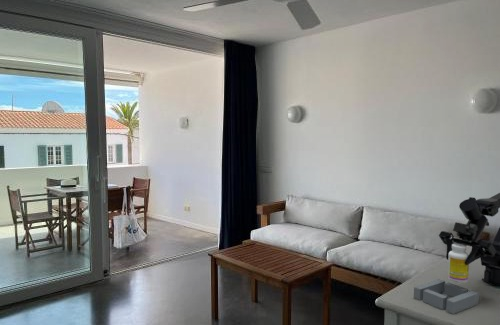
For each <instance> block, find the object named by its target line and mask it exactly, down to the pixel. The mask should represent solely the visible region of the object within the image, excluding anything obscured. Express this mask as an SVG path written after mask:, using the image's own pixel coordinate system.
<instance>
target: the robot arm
mask: <svg viewBox="0 0 500 325" xmlns="http://www.w3.org/2000/svg"><path fill="white" fill-rule="evenodd" d="M458 208H459V209H460V211H461V212H462V214H463V216H464V217H465V218H466V220H468V221H467V222H466V223H461V222H454V226H453V229H452V231H453V232H456V235H457V237H455V235H454V234H453V233H452V232H450V231H445V230H442V231H440V232H439V235H438V237H439V239H440V240H441V241H442V243H443V244H444V245H445V246H446V256H445V257H446V258H445V259H446V260H447V261H448V254H449V252H450V251H452V244H462V245H465V246H466V247H471V250H470V252H469V254H468V255H469V256H468V257H467V259H466V261H465V265H468V264H469V265H470V264H471V263H473V262H475V261H476V260H478V259H480V264H481V266H483V267H484V272H483V273H484V274H483V278H481V280H482V281H483V282H485V283H487V284H488V285H490V286H493V287H494V286H500V226H499V227H498V230H497V232H496V233H495V236H494V238H493V240H492V242H491V241H489V240H486V239H485V240H484V239H482V238H483V234H482V233H483V231H484V229H485V227H489V226H490V222H489V219H488V217H494V216H496V215H497V214H498V213H499V209H500V192H498V193H497V194H495V195H493V196H491V197H488V198H486V197H485V198H478V199H476V197H471V196H470V197H468V199H464V200H463V201H461V202H460V203H459V207H458ZM486 216H487V217H486Z"/></svg>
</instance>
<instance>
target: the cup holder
mask: <svg viewBox="0 0 500 325" xmlns="http://www.w3.org/2000/svg"><path fill="white" fill-rule="evenodd" d="M441 293H443V294H441ZM448 297H450V298H448ZM479 297H480V293H479V292H477V291H475V290H469V288H465V287H464V286H460V285H457V284H455V283H451V282H446V281H445V280H442V279H440V278H437V279H435V280H432V281H429V282H426V283H422V284H420V285H416V286H414V287H413V299H416V300H418V301H422V302H423V303H426V304H428V305H430V306H432V307H435V308H437V309H440V310H442V311H443V310H445V311H446V312H447V313H449V314H452V315H455V314H457V313H460V312H463V311H464V310H467V309H469V308H470V309H471V308H472V307H474V306H477V305H479V302H480V301H479V300H480V298H479Z"/></svg>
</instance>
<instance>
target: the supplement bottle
mask: <svg viewBox="0 0 500 325" xmlns="http://www.w3.org/2000/svg"><path fill="white" fill-rule="evenodd" d="M466 251H467V245H463V244H459V243H456V244H452V251H450V252H449V254H448V260H447V279H448V280H449V281H451V282H453V283H460V284H464V283H468V281H469V268H470V266H469V265H470V264H468V265H465V261H466V259H467V257H468V256H469V254H468V252H466Z"/></svg>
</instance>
